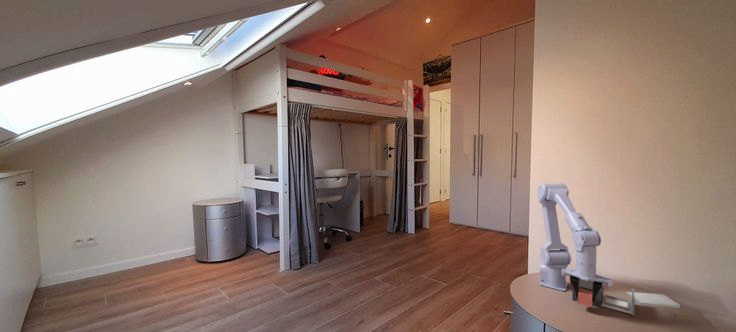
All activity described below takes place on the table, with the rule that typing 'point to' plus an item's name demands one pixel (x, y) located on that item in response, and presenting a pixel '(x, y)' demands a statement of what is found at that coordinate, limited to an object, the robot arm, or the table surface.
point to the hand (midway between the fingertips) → (585, 298)
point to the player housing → (588, 286)
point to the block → (585, 297)
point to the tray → (619, 303)
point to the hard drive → (653, 300)
